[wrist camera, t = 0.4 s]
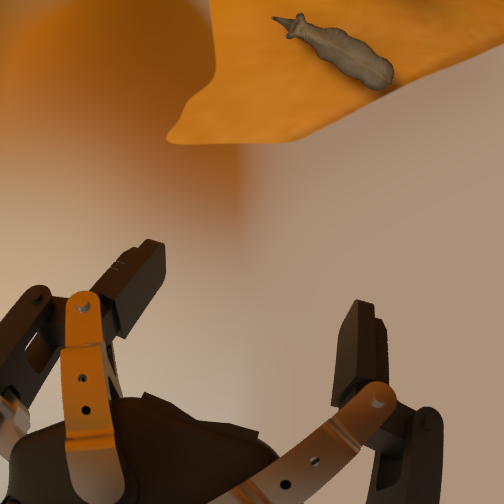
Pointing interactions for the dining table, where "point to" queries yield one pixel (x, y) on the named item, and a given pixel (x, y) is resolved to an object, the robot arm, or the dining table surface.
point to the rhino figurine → (342, 52)
